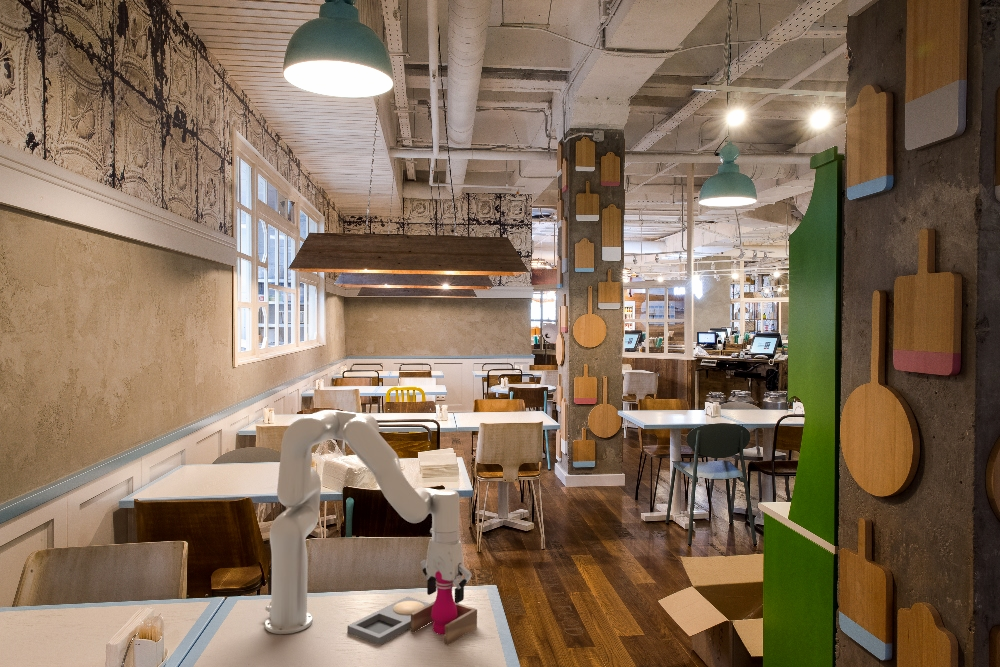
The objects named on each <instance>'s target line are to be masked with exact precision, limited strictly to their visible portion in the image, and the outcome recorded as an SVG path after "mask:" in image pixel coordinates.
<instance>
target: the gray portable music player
mask: <svg viewBox="0 0 1000 667" xmlns="http://www.w3.org/2000/svg"><path fill="white" fill-rule="evenodd" d="M429 604H430V603H429V602H425V601H423V600H420V599H416V598H414V597H413V598H412V597H409V596H406V597H404V598H401V599H400V600H397V601H395V602H394V603H391V604H389V605H387V606H385V607H383V608H381V609H378V610H376V611H375V612H373V613H370V614H369V615H367V616H365V617H362V618H361V619H358V620H356V621H354V622H352V623H350V624H348V625H347V627H346V628H347V634H349V635H351V636H354V637H356V636H357V638H359V639H362V640H364V641H367V642H369V643H372V644H375V645H377V646H380V645H383V644H385V643H386V642H388V641H390V640H392V639H394V638H395V637H397V636H399V635H401V634H403V633H405V632H407V631H408V630H410V629H411V613H413V612H415V611H417V610H419V609H421V608H423V607H425V606H427V605H429ZM409 628H410V629H409ZM407 629H408V630H407ZM406 630H407V631H406ZM404 631H405V632H404ZM402 632H403V633H402Z"/></svg>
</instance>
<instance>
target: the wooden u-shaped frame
mask: <svg viewBox="0 0 1000 667" xmlns="http://www.w3.org/2000/svg"><path fill="white" fill-rule="evenodd" d="M434 603H435V600H434V601H432V602H431V603H429V605H427V606H425V607H423V608H421V609H419V610H417V611H415V612H413V613H411V628H410V633H412V632H414V633H416V632H418V631H419V630H418V629H420V628H421V627H423V626H425V625H427V624H428V623H430V622H432V621H434V620H433V619H432V617H431V612H432V607H433V605H434ZM455 605H456V608H457V618H456V619H455V620H453V621H452V622H450V623H448V624H447V625H445V635H444V645H445V646H449V645H450V644H453V643H454V642H455V641H457V640H458V639H460V638H462V637H463V635H464V636H465V635H467V634H468V633H470V632H472V631H473V630H475V629H477V627H478V609H477V608H475V607H471V606H467V605H465V604H461V603H460V602H459V603H455ZM432 623H433V622H432ZM430 624H431V623H430ZM428 625H429V624H428ZM428 625H427V626H428ZM425 627H426V626H425ZM423 628H424V627H423ZM421 629H422V628H421ZM421 629H420V630H421ZM417 630H418V631H417ZM415 631H416V632H415Z"/></svg>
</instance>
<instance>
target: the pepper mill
mask: <svg viewBox="0 0 1000 667" xmlns="http://www.w3.org/2000/svg"><path fill="white" fill-rule="evenodd" d="M435 578H436V597H435V600H434V601H435V603H434V605H433V607H432V612H431V617H432V619H433V620H434V622H432V631H433V632H434V634H437V633H438V635H441V634H443V635H442V636H445V625H447V624H448V623H450V622H452V621H453V620H455V619H456V618H457V608H456V605H455V598H454V596H453V587H454V586H455V584H454V582H453V581H446V580H443V579H442V574H441V573H440V571H439V572H438V571H437V572H436V574H435Z"/></svg>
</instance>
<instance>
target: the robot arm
mask: <svg viewBox="0 0 1000 667" xmlns="http://www.w3.org/2000/svg"><path fill="white" fill-rule="evenodd" d="M379 432H380V425H379V422H378V420H377V419H376V418H374V416H372V415H370V414H366V413H357V412H350V411H341V410H335V409H334V410H332V409H325V410H324V409H323V410H319V411H317V412H314V413H311V414H308V415H306V416H303V417H301V418H299V419H297V420H295V421H293V422H292V423H291V424H290V425H289V426H288V427H287V429H286V430H285V431H284V433H283V436H282V439H281V448H280V460H279V461H280V462H279V465H278V466H279V467H278V478H277V489H276V491H277V492H276V496H277V498H278V501H279V503H280V504H281V505H283V506H284V507H286V509H285V510H284V511H283V512H281V513H279V515H278V516H276V518H275V519H274V520H273V521H272V524H271V525H270V528H269V543H270V550H271V594H270V596H271V598H270V600H271V601H270V602H269V605H267V606H265V608H264V610H265V611H266V612H268V613H269V617H268V618H267V619H266V620H265V623H264V628H265V630H266V631H268V632H270V633H272V634H275V635H276V634H277V635H288V634H294V633H298V632H301V631H304V630H305V629H307V628H309V627H310V626H311V625H312V624H313V616H312V614H311V613H310V612H308V570H309V569H308V549H307V544H306V538H307V537H308V536H309V535H310V534H311V533H312V532H313V531H314V529H315V528H316V527H317V524H318V521H319V516H320V515H319V514H320V504H321V493H322V492H321V490H322V481H321V477H320V474H319V473H318V472H317V471H316V470H315V468H313V467H312V463H313V454H312V452H313V451H312V449H313V447H314V446H316V445H319V444H323V443H325V442H326V441H329V440H339V441H344V443H345V444H346V445H347V446H348V448H350V450H351V451H352V452H353V453H354V455H356V457H357V458H358V459H359V460H360V462H361V463H362V464H363V465H364V466H365V467H366V468H367V469H368V470H369V471H370V473H371V475H372V476H373V477H374V479H375V481H376V484H377V485H378V487H379V489H380V490H381V492H382V494H383V496H384V498H385V499H386V500H387V501H388V502H387V503H389V505H390V506H392V508H393V509H394V510H395V511H396V512H397V513H398V515H399V516H400V517H401V518H403V519H404V520H405V521H407V522H409V523H411V524H417V523H421V522H422V521H424V520H425V519H426V518H427V517H428V515H429V514H431V517H432V518H431V519H432V520H431V522H432V523H431V528H430V530H429V533H430V534H431V538H430V539H429V542H428V547H427V552H426V559H423V560H421V561H420V562H419V564H420V566H421V569H422V573H423V574H424V576H425V577H424V579H425V580H426V582H427V583H426V585H427V586H426V587H427V588H426V591H427V595H428V596H431V595H432V594H434V593H437V587H436V580H437V579H436V578H435V574H436V572H437V571H438V572H439V571H440V573H441V574H442V579H443V580H446V581H453V582H454V583H453V584H454V586H455V587H456V588H454V602H455V603H459V604H460V603H461V602H462V601H464V597H465V586H467V584H468V583H469V582H470V580H471V577H472V575H473V574H472V572H471V571H470V570H469V569H468V568H467V567H465V566H464V553H463V546H462V542H461V540H460V494H459V492H458V491H457V490H455V489H450V488H448V489H445V488H444V489H434V488H429V487H424V486H423V487H421V486H420V487H419V486H418V487H415V488H414V487H413V486H412V484H410V482H409V481H408V480H407V478H406V476H405V475H404V473H403V471H402V467H401V462H400V457H399V455H398V454H397V452H396V451H395V450H394V449H393V448H392V447H391V445H389V443H388V442H387V441H386V440H385V438H384V437H383V436H382V435H381V434H380V433H379ZM463 576H464V577H463Z"/></svg>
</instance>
